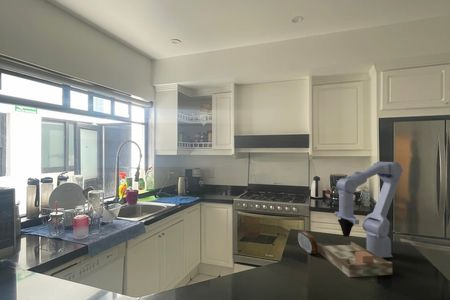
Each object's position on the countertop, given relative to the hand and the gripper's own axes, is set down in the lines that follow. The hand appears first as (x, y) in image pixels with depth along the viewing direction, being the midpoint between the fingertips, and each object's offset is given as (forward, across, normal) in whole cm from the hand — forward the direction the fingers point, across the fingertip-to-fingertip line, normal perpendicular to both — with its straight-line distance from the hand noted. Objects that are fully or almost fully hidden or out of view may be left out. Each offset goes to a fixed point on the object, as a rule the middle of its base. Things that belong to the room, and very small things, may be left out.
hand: (346, 236), depth 108 cm
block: (+7, +12, 0) cm, 14 cm away
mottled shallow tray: (+10, +4, 0) cm, 11 cm away
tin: (+10, -11, -14) cm, 20 cm away
